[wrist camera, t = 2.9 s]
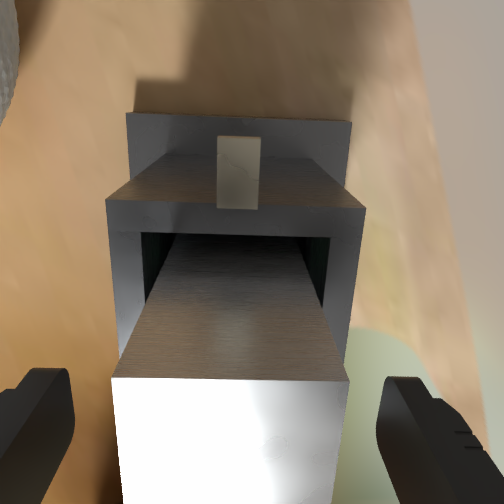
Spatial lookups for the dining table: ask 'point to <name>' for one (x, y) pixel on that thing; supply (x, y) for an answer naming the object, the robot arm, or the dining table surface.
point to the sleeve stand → (235, 201)
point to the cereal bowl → (8, 54)
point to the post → (230, 380)
